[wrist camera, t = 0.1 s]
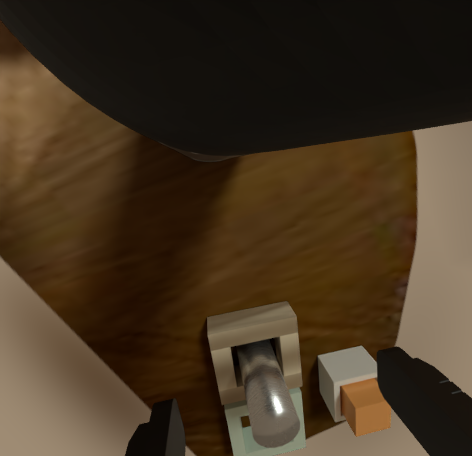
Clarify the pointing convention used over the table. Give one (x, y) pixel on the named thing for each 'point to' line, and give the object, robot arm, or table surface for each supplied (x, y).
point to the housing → (343, 374)
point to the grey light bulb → (267, 395)
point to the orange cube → (364, 407)
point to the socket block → (251, 330)
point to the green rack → (242, 440)
